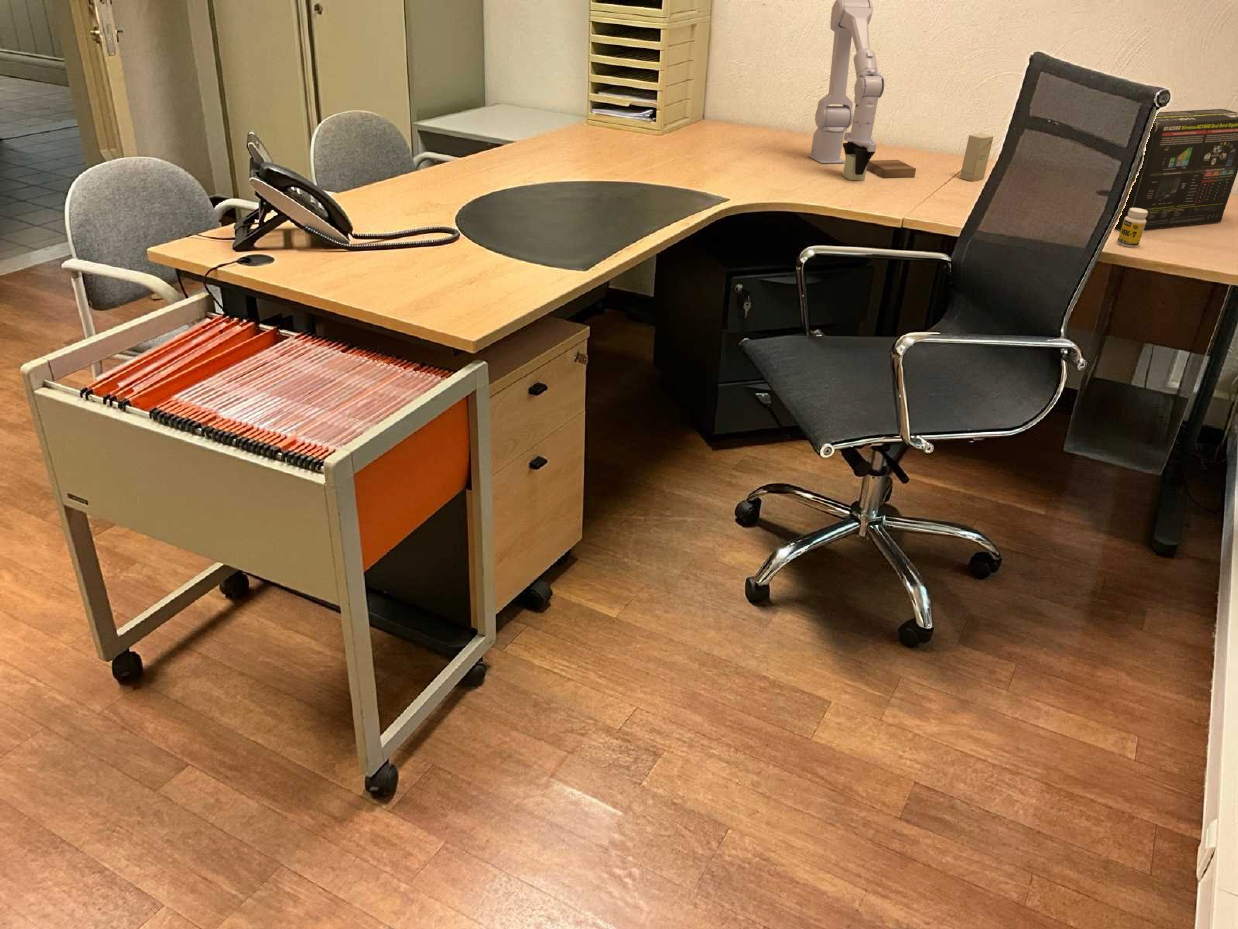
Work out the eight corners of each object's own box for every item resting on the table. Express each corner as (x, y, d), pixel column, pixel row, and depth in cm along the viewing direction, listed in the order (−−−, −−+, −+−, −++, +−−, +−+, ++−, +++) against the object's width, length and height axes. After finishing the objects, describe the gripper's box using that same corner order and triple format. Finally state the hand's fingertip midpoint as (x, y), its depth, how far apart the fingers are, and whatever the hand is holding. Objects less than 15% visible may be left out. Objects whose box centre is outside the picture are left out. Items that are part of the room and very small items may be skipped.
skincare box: (971, 181, 281) (982, 138, 275) (958, 178, 284) (968, 134, 278) (984, 179, 284) (994, 135, 278) (971, 175, 287) (980, 132, 281)
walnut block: (865, 170, 288) (867, 160, 286) (896, 169, 290) (898, 159, 289) (883, 180, 279) (885, 169, 278) (914, 179, 282) (916, 168, 281)
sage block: (842, 175, 279) (846, 154, 276) (856, 175, 280) (860, 153, 277) (850, 179, 275) (854, 158, 272) (864, 179, 276) (868, 157, 273)
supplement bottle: (1113, 243, 236) (1124, 209, 232) (1121, 240, 239) (1132, 205, 235) (1133, 249, 233) (1145, 214, 229) (1141, 245, 236) (1152, 210, 232)
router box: (1186, 210, 266) (1222, 107, 252) (1222, 223, 257) (1261, 116, 243) (1088, 220, 253) (1120, 111, 239) (1122, 233, 244) (1158, 121, 230)
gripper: (837, 116, 275) (829, 165, 281) (863, 127, 263) (854, 179, 270) (860, 115, 276) (851, 164, 283) (886, 127, 265) (877, 178, 272)
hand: (854, 171), depth 277 cm, fingers closed on sage block, 4 cm apart
